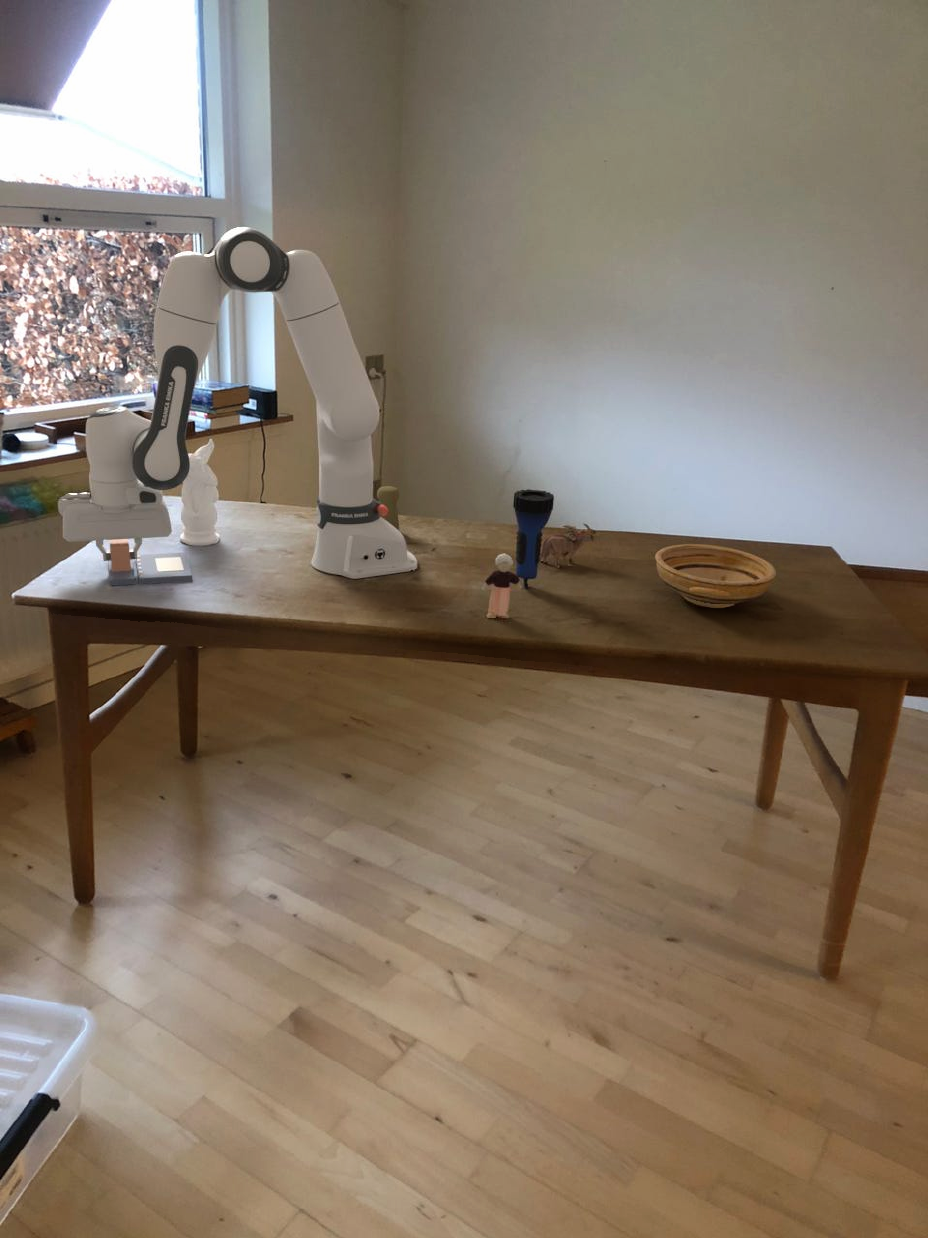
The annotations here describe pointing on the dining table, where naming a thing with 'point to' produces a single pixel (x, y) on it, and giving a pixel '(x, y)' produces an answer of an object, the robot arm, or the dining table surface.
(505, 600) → the grandmother figurine
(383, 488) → the cork
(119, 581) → the stub
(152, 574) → the grey notebook
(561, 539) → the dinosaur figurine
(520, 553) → the flashlight
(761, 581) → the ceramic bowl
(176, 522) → the dining table surface
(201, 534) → the white tall statuette
